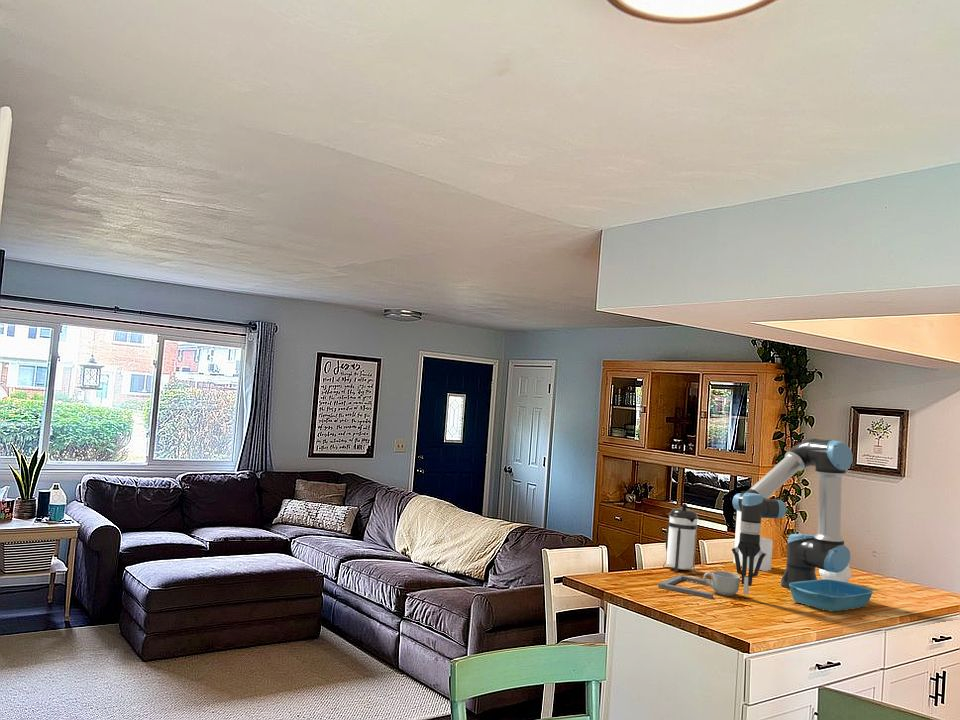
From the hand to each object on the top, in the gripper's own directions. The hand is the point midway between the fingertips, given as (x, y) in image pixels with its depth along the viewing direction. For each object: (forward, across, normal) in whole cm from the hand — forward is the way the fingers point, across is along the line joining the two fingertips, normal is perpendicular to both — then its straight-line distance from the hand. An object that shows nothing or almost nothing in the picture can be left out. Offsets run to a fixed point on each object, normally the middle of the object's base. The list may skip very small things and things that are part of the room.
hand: (745, 593), depth 306 cm
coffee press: (+2, -37, +33) cm, 50 cm away
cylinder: (+2, -14, +75) cm, 77 cm away
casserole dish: (+3, +28, +22) cm, 35 cm away
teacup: (+2, -10, 0) cm, 10 cm away
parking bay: (+2, -20, 0) cm, 20 cm away
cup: (+2, +23, +73) cm, 77 cm away
